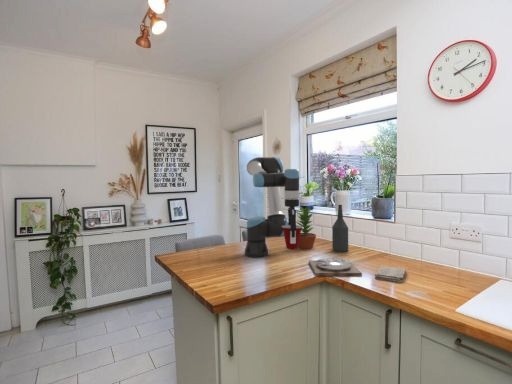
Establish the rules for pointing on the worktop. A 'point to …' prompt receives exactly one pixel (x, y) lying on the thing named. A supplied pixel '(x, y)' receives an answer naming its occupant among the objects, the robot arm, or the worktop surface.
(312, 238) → the potted plant
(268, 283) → the worktop surface
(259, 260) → the worktop surface
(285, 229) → the plastic cup
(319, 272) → the mount board
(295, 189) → the robot arm
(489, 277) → the worktop surface
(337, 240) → the bottle
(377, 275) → the washcloth
